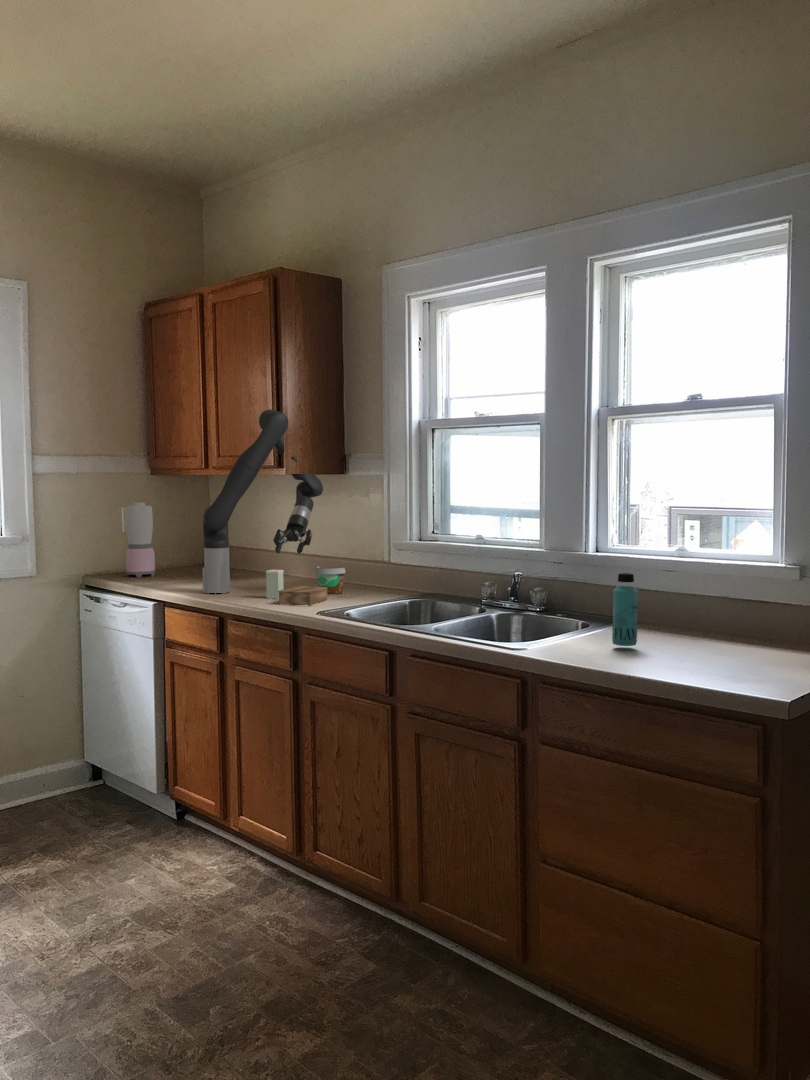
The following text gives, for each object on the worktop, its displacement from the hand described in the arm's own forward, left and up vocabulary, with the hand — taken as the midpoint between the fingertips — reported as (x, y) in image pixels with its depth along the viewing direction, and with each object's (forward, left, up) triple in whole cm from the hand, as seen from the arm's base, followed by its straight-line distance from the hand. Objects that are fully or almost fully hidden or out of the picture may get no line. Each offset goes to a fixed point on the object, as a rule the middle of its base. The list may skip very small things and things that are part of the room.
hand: (287, 552), depth 333 cm
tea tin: (0, -12, -16) cm, 20 cm away
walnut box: (+14, -19, -16) cm, 28 cm away
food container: (+15, +2, -16) cm, 22 cm away
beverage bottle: (+126, -71, -16) cm, 145 cm away
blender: (-86, +34, -16) cm, 94 cm away
